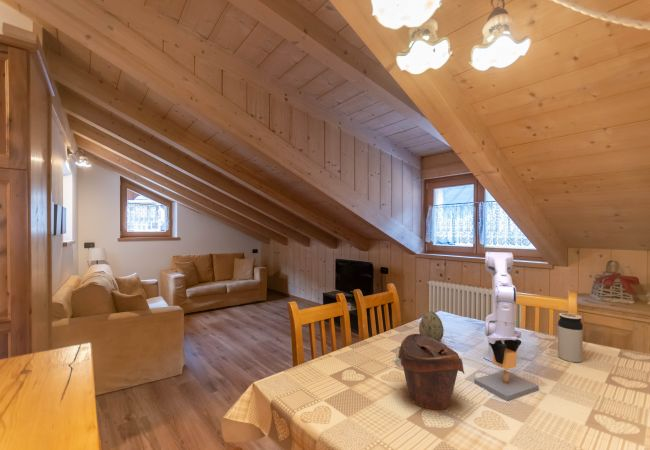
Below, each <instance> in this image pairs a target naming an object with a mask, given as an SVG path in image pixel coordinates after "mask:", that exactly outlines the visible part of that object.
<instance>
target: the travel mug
mask: <svg viewBox="0 0 650 450" xmlns="http://www.w3.org/2000/svg"><path fill="white" fill-rule="evenodd" d="M558 315H559V319H558V322H557V323H558V325H557V333H558V334H557V356H558V358H560V359H562V360H564V361H568V362H571V363H582V362H583V360H584V359H583V357H584V356H583V352H584V351H583V349H584V348H583V345H584V344H583V343H584V340H583V338H584V336H583V333H584V331H583V329H584V328H583V327H584V326H583V323H582V321H581V320H582V318H583V317H582V316H581V315H579V314H575V313H568V312H560V313H558Z"/></svg>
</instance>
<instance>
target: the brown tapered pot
mask: <svg viewBox="0 0 650 450" xmlns="http://www.w3.org/2000/svg"><path fill="white" fill-rule="evenodd" d="M400 346H401V347H400V350H399V354H398V359H399V358H400V360H401V365H402V366H401V367H402V368H403V373H404V377H405V379H404V380H405V384H406V388H407V394H408V397H409V399H410V401H411V402H412V403H414V404H415V405H417V406H419V407H421V408H425V409H430V410H439V411H440V410H444V409H447V408H448V407H449V406H450V405H451V403H452V398H453V393H454V388H455V384H456V381H457V377H458V372H461V373H462V374H465V370H464V364H463V360H462V358H461V357H460V355H459V353H458V352H457V351H455V350H453V349H452V348H450V347H448V346H447V345H446V344H444V343H442V342H441V341H440V342H439V341H437V340H435V339H433V338H430V337H428V336H425V335H422V334H420V333H410V334H408V335H407V336H405V337H404V338H403V340H402V341H401V343H400Z"/></svg>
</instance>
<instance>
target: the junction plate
mask: <svg viewBox="0 0 650 450" xmlns="http://www.w3.org/2000/svg"><path fill="white" fill-rule="evenodd" d="M473 383H474V384H475V385H476V386H478V387H480V388H483V389H484V390H486V391H488V392H489V393H491V394H493V395H495V396H497V397H498V398H501V399H503V400H505V401H506V402H509V401H511V400H514V399H516V398H517V399H518V398H519V397H522V396H526V395H529V394H531V393H534V392H537V391H539V390H540V388H539V387H540V385H538V384H536V383H534V382H531V381H529V380H527V379H526V378H523V377H521V376H518V375H516V374H513V373H511V372H510V371H508V370H506V369H503V370H500V371H497V372H494V373H490V374H487V375H483V376H480V377H477V378H474V380H473Z"/></svg>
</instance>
